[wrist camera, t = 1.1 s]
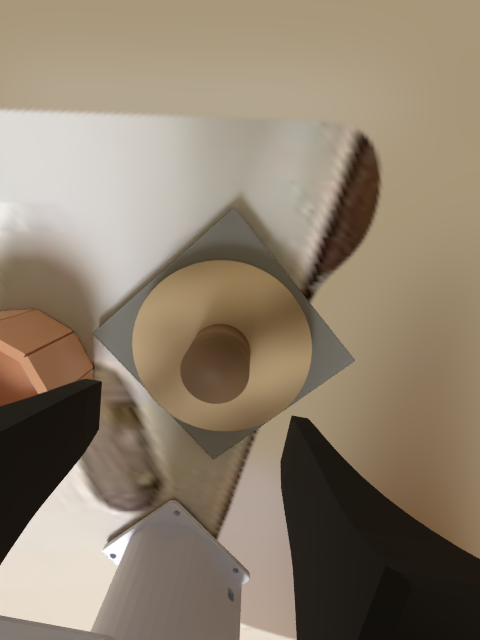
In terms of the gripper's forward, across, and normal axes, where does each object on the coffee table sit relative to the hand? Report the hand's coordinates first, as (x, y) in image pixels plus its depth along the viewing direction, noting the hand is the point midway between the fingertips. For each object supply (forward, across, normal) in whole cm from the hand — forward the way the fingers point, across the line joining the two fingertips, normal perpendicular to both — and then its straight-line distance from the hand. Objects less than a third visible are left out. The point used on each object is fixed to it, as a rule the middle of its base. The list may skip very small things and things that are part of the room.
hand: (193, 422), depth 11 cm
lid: (+9, 0, 0) cm, 9 cm away
